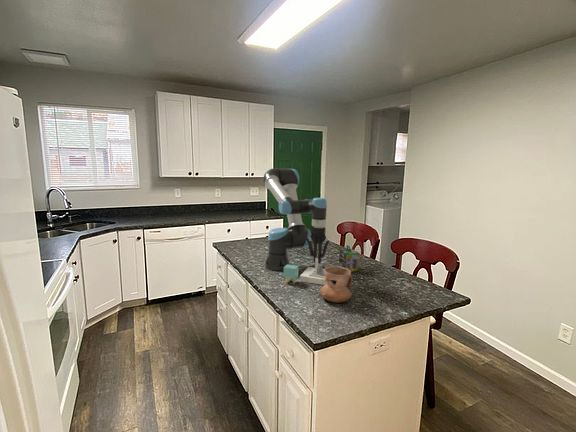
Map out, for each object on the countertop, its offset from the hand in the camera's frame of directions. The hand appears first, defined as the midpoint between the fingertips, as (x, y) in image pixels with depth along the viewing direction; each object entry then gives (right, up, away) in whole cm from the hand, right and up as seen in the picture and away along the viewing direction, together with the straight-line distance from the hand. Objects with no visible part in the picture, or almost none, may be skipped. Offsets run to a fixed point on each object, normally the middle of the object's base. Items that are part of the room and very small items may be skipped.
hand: (317, 268), depth 170 cm
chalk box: (+21, -4, +17) cm, 27 cm away
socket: (+2, -6, 0) cm, 6 cm away
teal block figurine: (-15, -6, -5) cm, 17 cm away
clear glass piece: (+4, -3, -1) cm, 5 cm away
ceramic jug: (+7, -10, -24) cm, 27 cm away
